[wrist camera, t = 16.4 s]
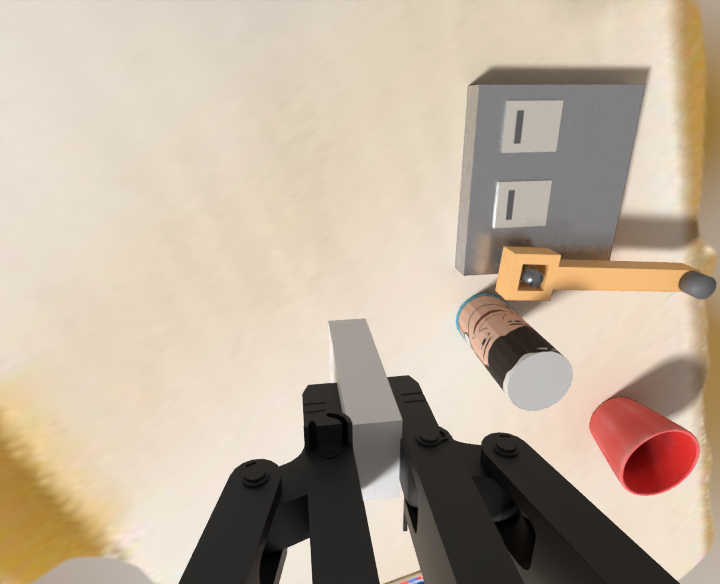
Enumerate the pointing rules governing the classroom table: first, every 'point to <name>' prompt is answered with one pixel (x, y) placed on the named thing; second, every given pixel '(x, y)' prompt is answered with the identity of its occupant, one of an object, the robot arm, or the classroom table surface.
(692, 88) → the classroom table surface
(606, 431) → the flower pot
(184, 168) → the classroom table surface
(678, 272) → the bar
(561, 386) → the printed cylinder
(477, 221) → the board
